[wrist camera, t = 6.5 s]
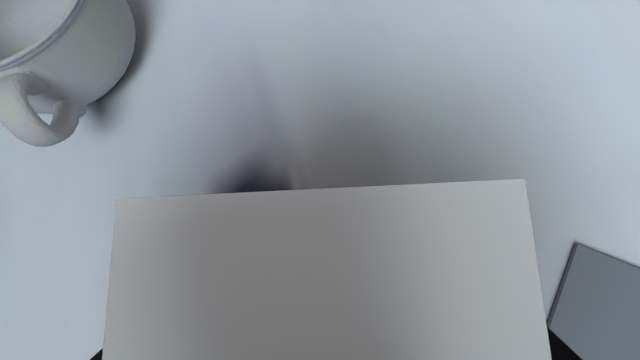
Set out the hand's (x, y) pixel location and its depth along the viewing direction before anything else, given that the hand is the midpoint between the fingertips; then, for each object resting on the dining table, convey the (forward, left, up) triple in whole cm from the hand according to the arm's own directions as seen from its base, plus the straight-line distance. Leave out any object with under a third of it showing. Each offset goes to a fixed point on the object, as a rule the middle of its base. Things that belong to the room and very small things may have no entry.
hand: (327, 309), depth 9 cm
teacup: (-10, +21, -14) cm, 26 cm away
